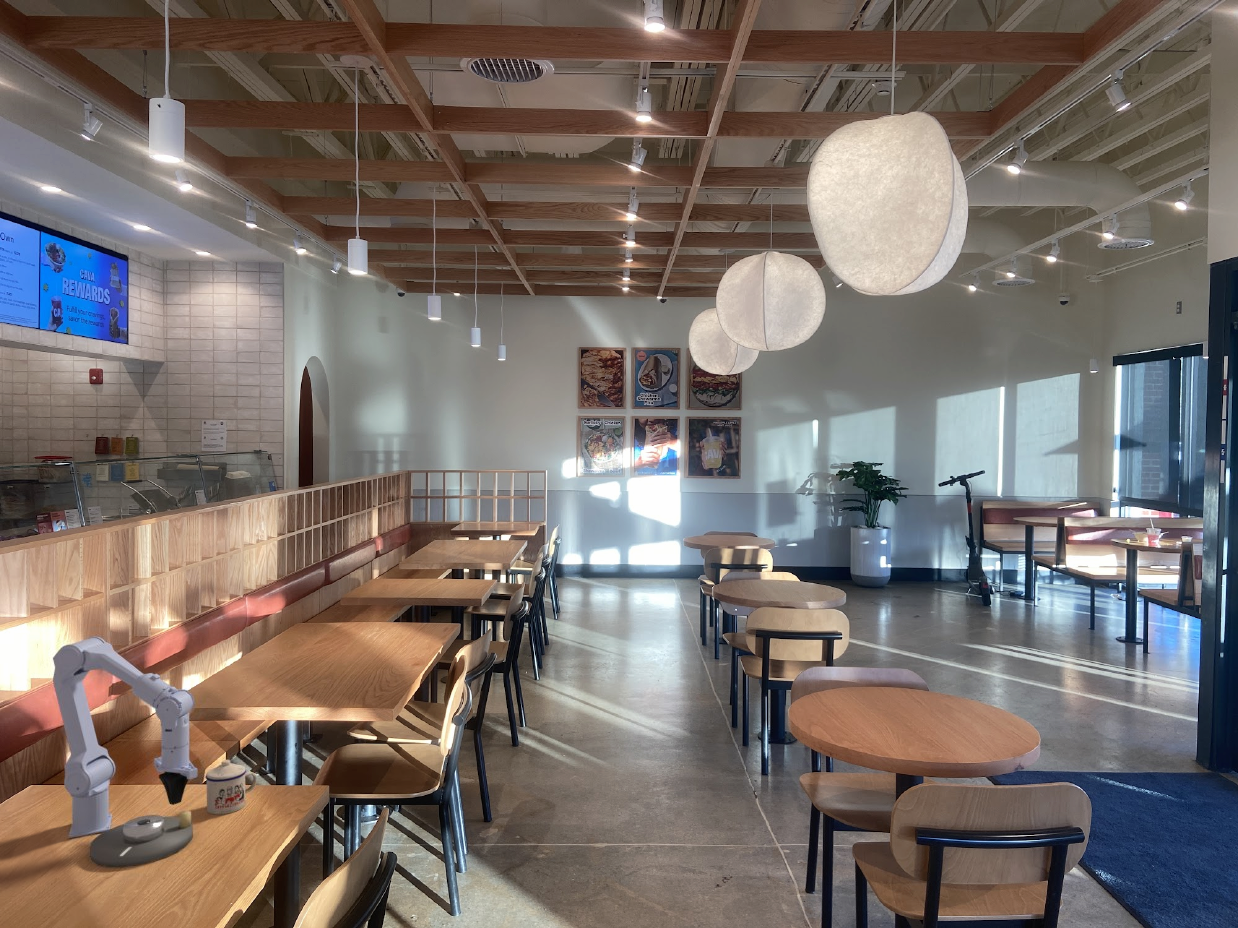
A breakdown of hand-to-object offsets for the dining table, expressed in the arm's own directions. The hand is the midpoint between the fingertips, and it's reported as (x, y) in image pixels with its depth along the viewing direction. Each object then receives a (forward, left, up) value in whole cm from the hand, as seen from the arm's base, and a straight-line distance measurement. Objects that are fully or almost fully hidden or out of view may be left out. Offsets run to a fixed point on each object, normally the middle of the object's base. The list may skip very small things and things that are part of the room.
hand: (175, 802), depth 194 cm
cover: (+6, -6, -4) cm, 9 cm away
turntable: (+6, -6, -6) cm, 11 cm away
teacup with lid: (-8, +13, -7) cm, 16 cm away
